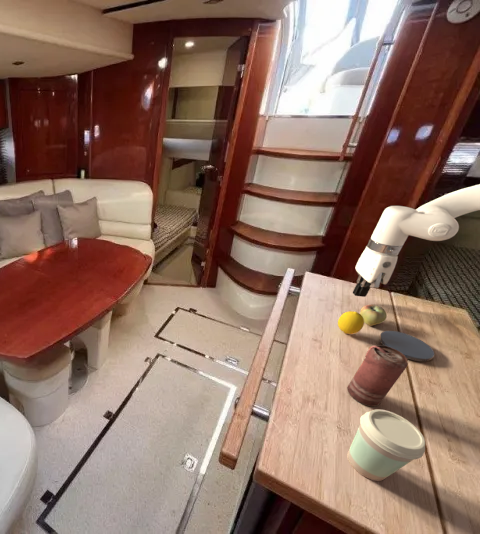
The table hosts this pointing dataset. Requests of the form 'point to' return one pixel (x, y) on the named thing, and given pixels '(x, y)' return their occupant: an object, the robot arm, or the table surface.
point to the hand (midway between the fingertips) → (358, 294)
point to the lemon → (350, 322)
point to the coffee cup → (384, 444)
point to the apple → (373, 314)
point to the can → (377, 375)
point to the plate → (407, 345)
